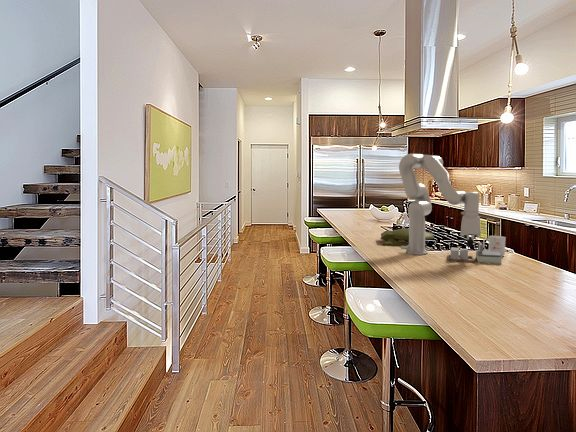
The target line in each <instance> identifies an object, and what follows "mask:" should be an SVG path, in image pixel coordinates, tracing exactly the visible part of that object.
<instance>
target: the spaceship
mask: <svg viewBox="0 0 576 432" xmlns="http://www.w3.org/2000/svg"><path fill="white" fill-rule="evenodd" d="M434 237H435V236H434V235H433V234H432V233H431V232H430V231H427V230H425V241H427V240H432V239H434ZM380 239H381V240H384V241H382V242H381V245H382V246H385V247H386V246H387V247H389V246H391V247H401V246H408V245H409V228H408V227H407V228H406V227H405V228H398V229H395V230H384V231H383V232H382V233H381V234H380ZM401 240H402V241H401ZM403 241H408V242H403ZM425 247H427V243H425Z"/></svg>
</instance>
